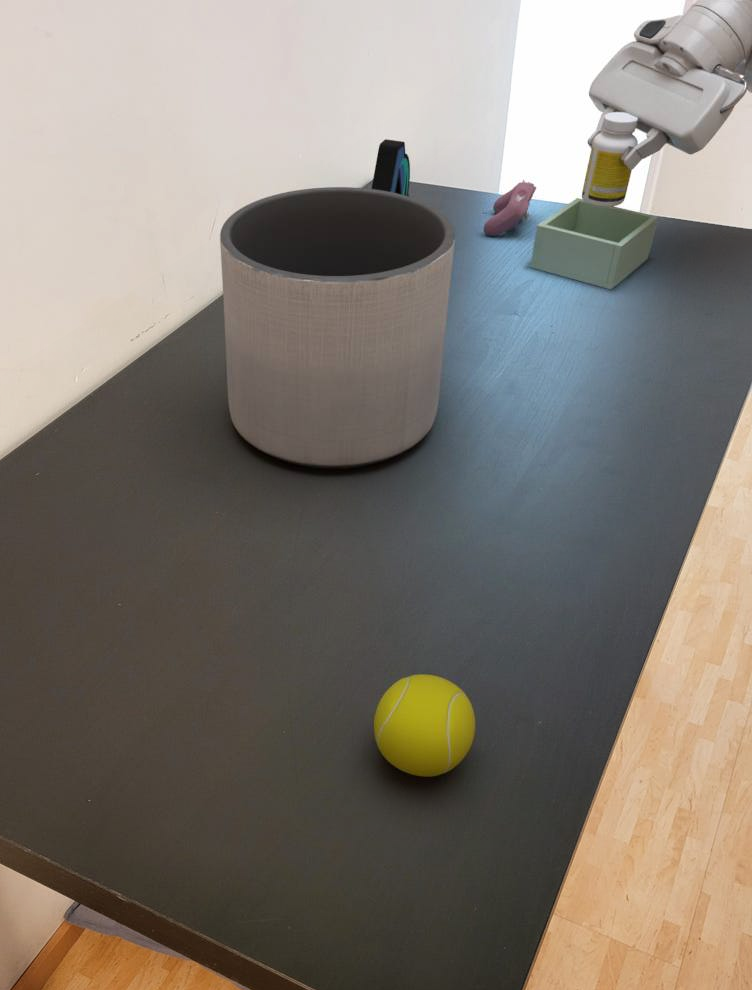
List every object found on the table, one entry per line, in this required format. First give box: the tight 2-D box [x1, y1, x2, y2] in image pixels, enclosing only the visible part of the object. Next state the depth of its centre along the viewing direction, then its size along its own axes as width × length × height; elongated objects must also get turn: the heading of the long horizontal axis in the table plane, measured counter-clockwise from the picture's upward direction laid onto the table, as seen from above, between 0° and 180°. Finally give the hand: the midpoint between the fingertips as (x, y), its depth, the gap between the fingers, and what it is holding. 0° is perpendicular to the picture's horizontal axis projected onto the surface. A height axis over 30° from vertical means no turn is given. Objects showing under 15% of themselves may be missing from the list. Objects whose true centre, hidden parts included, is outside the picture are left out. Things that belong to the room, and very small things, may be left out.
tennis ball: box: [373, 673, 476, 778], centre depth 66 cm, size 7×7×7 cm
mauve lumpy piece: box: [483, 179, 537, 237], centre depth 134 cm, size 10×5×7 cm, turn 161°
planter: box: [219, 186, 456, 469], centre depth 93 cm, size 22×22×20 cm
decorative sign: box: [370, 138, 411, 197], centre depth 123 cm, size 19×2×15 cm, turn 155°
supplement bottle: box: [581, 112, 639, 207], centre depth 117 cm, size 5×5×10 cm
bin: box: [529, 197, 659, 290], centre depth 124 cm, size 12×12×6 cm
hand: (607, 156), depth 117 cm, fingers closed on supplement bottle, 5 cm apart
